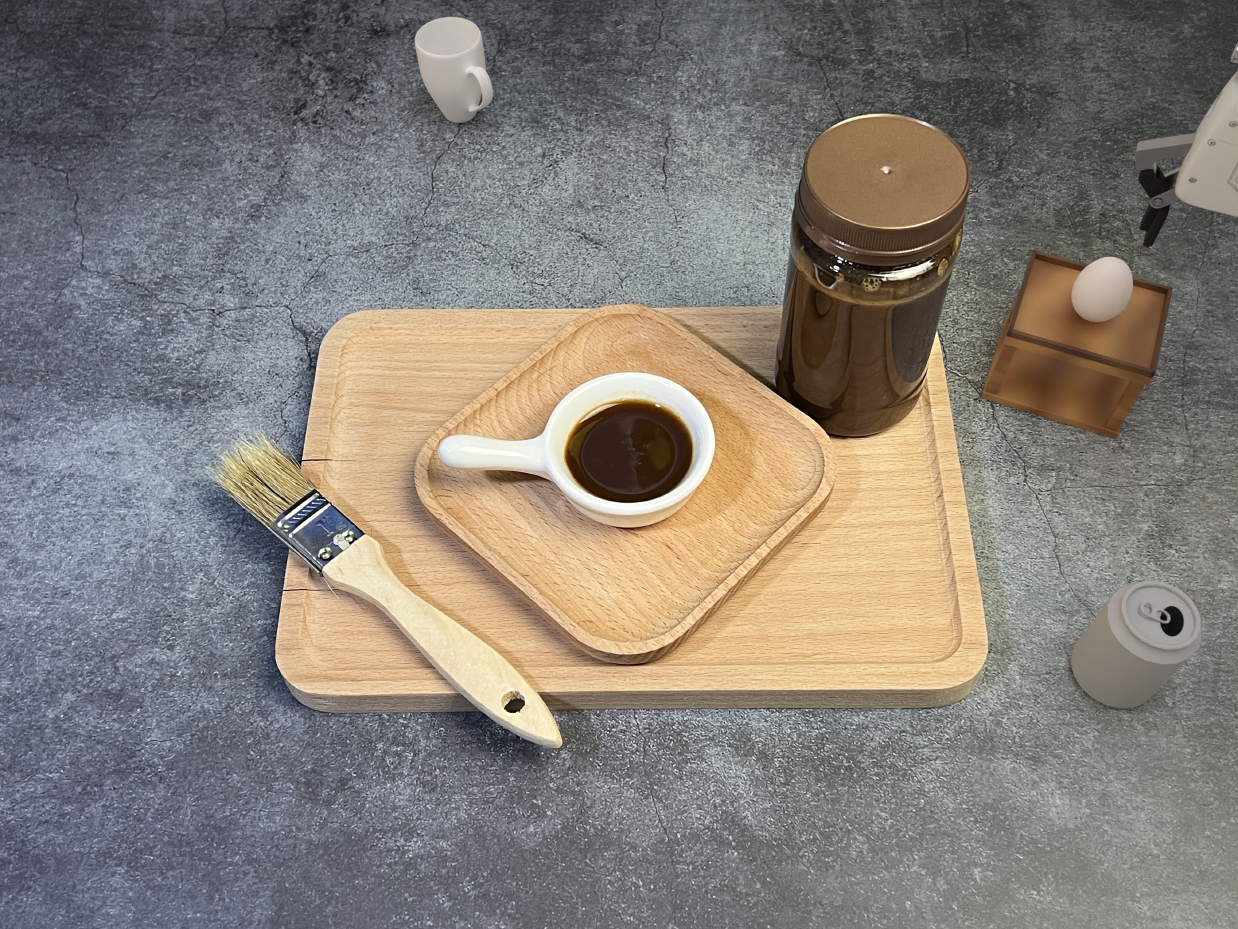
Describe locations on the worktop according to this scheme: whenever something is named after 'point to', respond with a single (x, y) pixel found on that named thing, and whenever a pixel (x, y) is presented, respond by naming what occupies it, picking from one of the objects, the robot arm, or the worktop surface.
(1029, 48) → the worktop surface
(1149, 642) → the can
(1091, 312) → the egg
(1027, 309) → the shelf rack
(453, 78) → the mug
